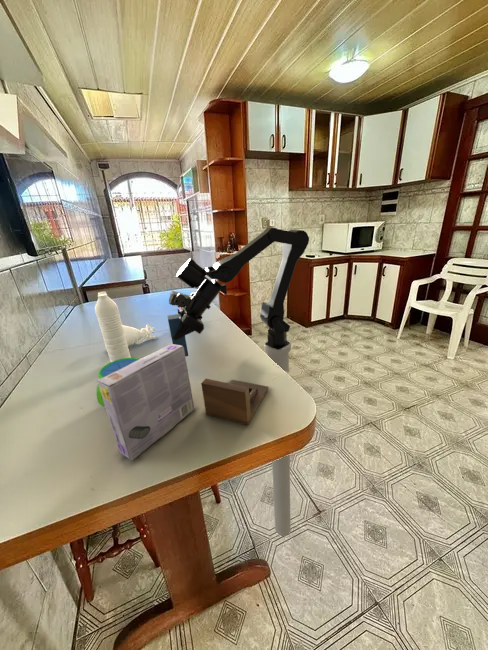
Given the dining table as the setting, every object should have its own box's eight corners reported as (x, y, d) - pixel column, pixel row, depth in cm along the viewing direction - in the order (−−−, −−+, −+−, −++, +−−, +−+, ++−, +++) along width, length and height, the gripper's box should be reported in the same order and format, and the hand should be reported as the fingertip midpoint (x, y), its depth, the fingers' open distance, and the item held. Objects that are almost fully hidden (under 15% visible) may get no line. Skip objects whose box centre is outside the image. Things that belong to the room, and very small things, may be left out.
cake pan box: (185, 400, 70) (173, 339, 63) (199, 406, 67) (188, 343, 60) (117, 452, 55) (93, 381, 49) (132, 463, 53) (108, 389, 46)
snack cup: (139, 379, 80) (131, 350, 77) (165, 388, 76) (157, 356, 72) (90, 412, 68) (78, 378, 64) (118, 424, 63) (106, 389, 59)
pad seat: (231, 382, 76) (228, 354, 72) (268, 389, 71) (267, 360, 68) (206, 414, 64) (201, 383, 61) (248, 425, 60) (245, 392, 56)
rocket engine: (155, 313, 107) (106, 316, 96) (163, 337, 103) (113, 343, 91) (148, 329, 115) (102, 333, 104) (155, 352, 110) (108, 359, 99)
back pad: (187, 350, 88) (180, 313, 83) (188, 355, 84) (181, 317, 79) (174, 352, 87) (167, 315, 82) (175, 358, 83) (168, 319, 78)
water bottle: (110, 361, 93) (89, 291, 83) (130, 356, 95) (112, 288, 86) (112, 372, 85) (89, 298, 76) (133, 366, 88) (114, 293, 79)
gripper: (179, 275, 86) (150, 313, 87) (185, 288, 69) (150, 334, 71) (206, 295, 91) (179, 330, 92) (218, 311, 74) (184, 354, 76)
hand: (173, 336), depth 83 cm, fingers closed on back pad, 4 cm apart
